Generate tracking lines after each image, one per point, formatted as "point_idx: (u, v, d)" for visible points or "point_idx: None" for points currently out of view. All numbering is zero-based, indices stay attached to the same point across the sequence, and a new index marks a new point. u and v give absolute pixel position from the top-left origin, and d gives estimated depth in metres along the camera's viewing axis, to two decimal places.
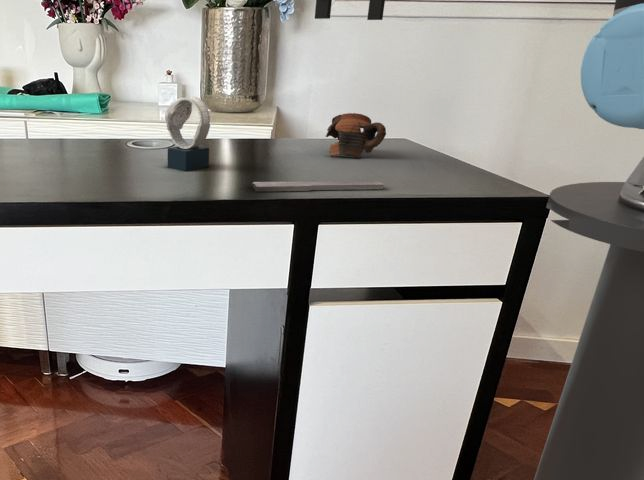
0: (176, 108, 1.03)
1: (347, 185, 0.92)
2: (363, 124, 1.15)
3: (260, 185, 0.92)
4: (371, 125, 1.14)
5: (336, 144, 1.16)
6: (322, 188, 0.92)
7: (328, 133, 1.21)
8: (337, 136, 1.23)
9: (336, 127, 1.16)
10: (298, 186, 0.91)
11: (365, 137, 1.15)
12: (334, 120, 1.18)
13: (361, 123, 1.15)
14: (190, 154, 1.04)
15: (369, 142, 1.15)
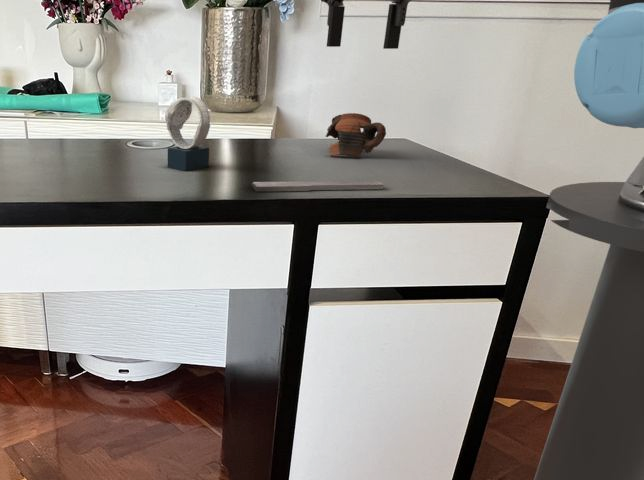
0: (176, 108, 1.03)
1: (347, 185, 0.92)
2: (363, 124, 1.15)
3: (260, 185, 0.92)
4: (371, 125, 1.14)
5: (336, 144, 1.16)
6: (322, 188, 0.92)
7: (328, 133, 1.21)
8: (337, 136, 1.23)
9: (336, 127, 1.16)
10: (298, 186, 0.91)
11: (365, 137, 1.15)
12: (334, 120, 1.18)
13: (361, 123, 1.15)
14: (190, 154, 1.04)
15: (369, 142, 1.15)
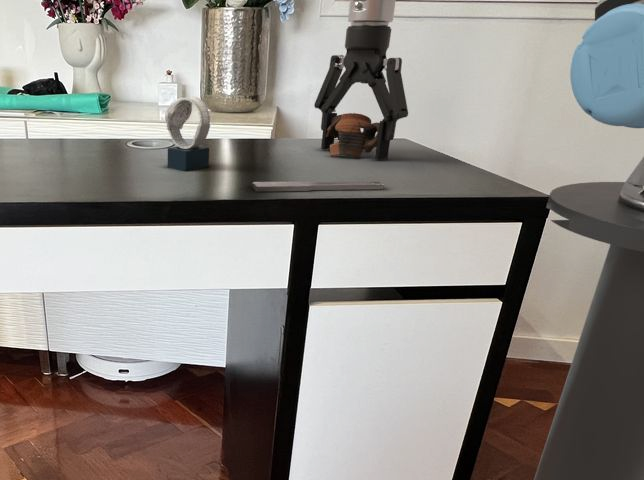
0: (176, 108, 1.03)
1: (347, 185, 0.92)
2: (363, 124, 1.15)
3: (260, 185, 0.92)
4: (371, 125, 1.14)
5: (336, 144, 1.16)
6: (322, 188, 0.92)
7: (328, 133, 1.21)
8: (337, 136, 1.23)
9: (336, 127, 1.16)
10: (298, 186, 0.91)
11: (365, 137, 1.15)
12: (334, 120, 1.18)
13: (361, 123, 1.15)
14: (190, 154, 1.04)
15: (369, 142, 1.15)
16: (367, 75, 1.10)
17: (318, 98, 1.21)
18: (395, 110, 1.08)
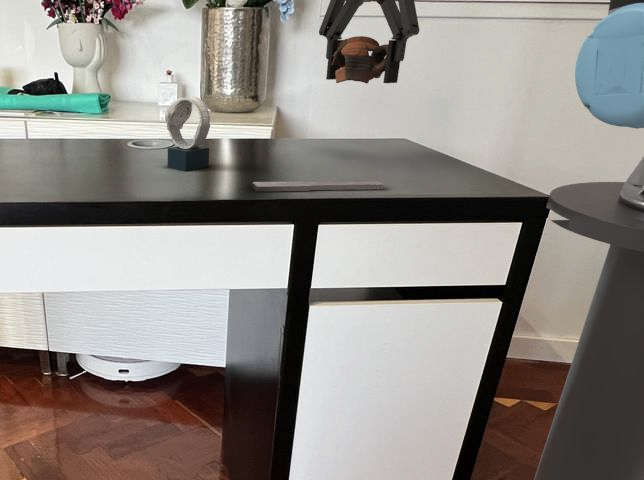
0: (176, 108, 1.03)
1: (347, 185, 0.92)
2: (371, 47, 1.08)
3: (260, 185, 0.92)
4: (380, 47, 1.07)
5: (342, 69, 1.09)
6: (322, 188, 0.92)
7: (334, 61, 1.14)
8: (343, 65, 1.15)
9: (342, 51, 1.09)
10: (298, 186, 0.91)
11: (373, 61, 1.07)
12: (340, 45, 1.11)
13: (369, 45, 1.08)
14: (190, 154, 1.04)
15: (377, 66, 1.07)
16: None
17: (323, 24, 1.14)
18: (405, 26, 1.01)
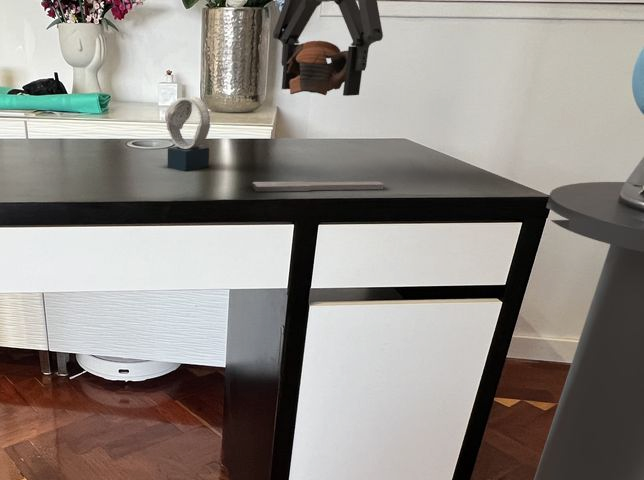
0: (176, 108, 1.03)
1: (347, 185, 0.92)
2: (330, 53, 0.94)
3: (260, 185, 0.92)
4: (339, 54, 0.93)
5: (297, 78, 0.95)
6: (322, 188, 0.92)
7: (289, 68, 1.00)
8: None
9: (297, 58, 0.95)
10: (298, 186, 0.91)
11: (331, 70, 0.94)
12: (296, 51, 0.97)
13: (327, 51, 0.94)
14: (190, 154, 1.04)
15: (337, 75, 0.94)
16: None
17: (277, 26, 1.00)
18: (366, 30, 0.87)
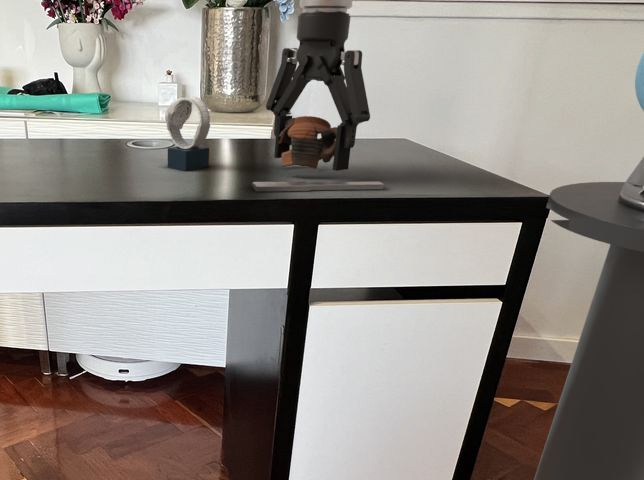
0: (176, 108, 1.03)
1: (347, 185, 0.92)
2: (320, 129, 0.98)
3: (260, 185, 0.92)
4: (329, 130, 0.97)
5: (288, 152, 0.99)
6: (322, 188, 0.92)
7: (281, 139, 1.04)
8: None
9: (289, 132, 0.99)
10: (298, 186, 0.91)
11: (321, 145, 0.98)
12: (287, 124, 1.01)
13: (318, 127, 0.98)
14: (190, 154, 1.04)
15: (327, 150, 0.98)
16: (322, 71, 0.93)
17: (270, 99, 1.04)
18: (354, 113, 0.91)
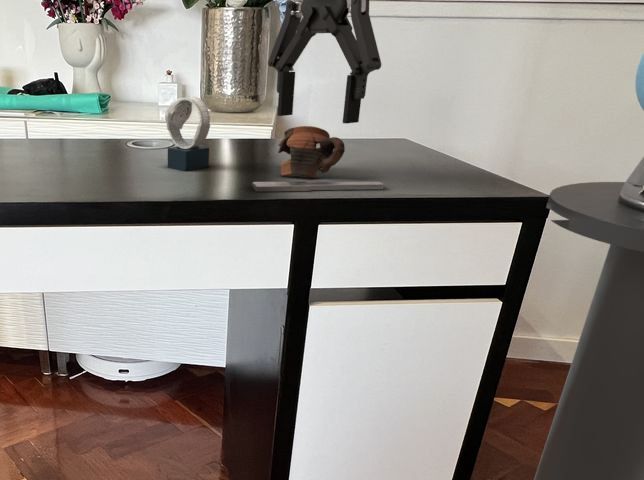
0: (176, 108, 1.03)
1: (347, 185, 0.92)
2: (318, 139, 0.99)
3: (260, 185, 0.92)
4: (327, 140, 0.98)
5: (287, 162, 1.00)
6: (322, 188, 0.92)
7: (281, 149, 1.05)
8: None
9: (288, 142, 1.00)
10: (298, 186, 0.91)
11: (320, 155, 0.99)
12: (286, 134, 1.02)
13: (316, 137, 0.99)
14: (190, 154, 1.04)
15: (325, 160, 0.98)
16: (328, 22, 0.90)
17: (272, 54, 1.01)
18: (365, 60, 0.88)
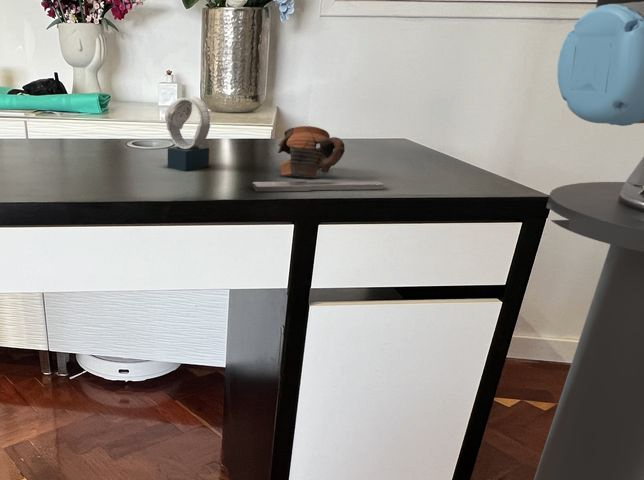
0: (176, 108, 1.03)
1: (347, 185, 0.92)
2: (318, 139, 0.99)
3: (260, 185, 0.92)
4: (327, 140, 0.98)
5: (287, 162, 1.00)
6: (322, 188, 0.92)
7: (281, 148, 1.05)
8: None
9: (288, 142, 1.00)
10: (298, 186, 0.91)
11: (320, 155, 0.99)
12: (286, 134, 1.02)
13: (316, 137, 0.99)
14: (190, 154, 1.04)
15: (325, 160, 0.98)
16: None
17: None
18: None
